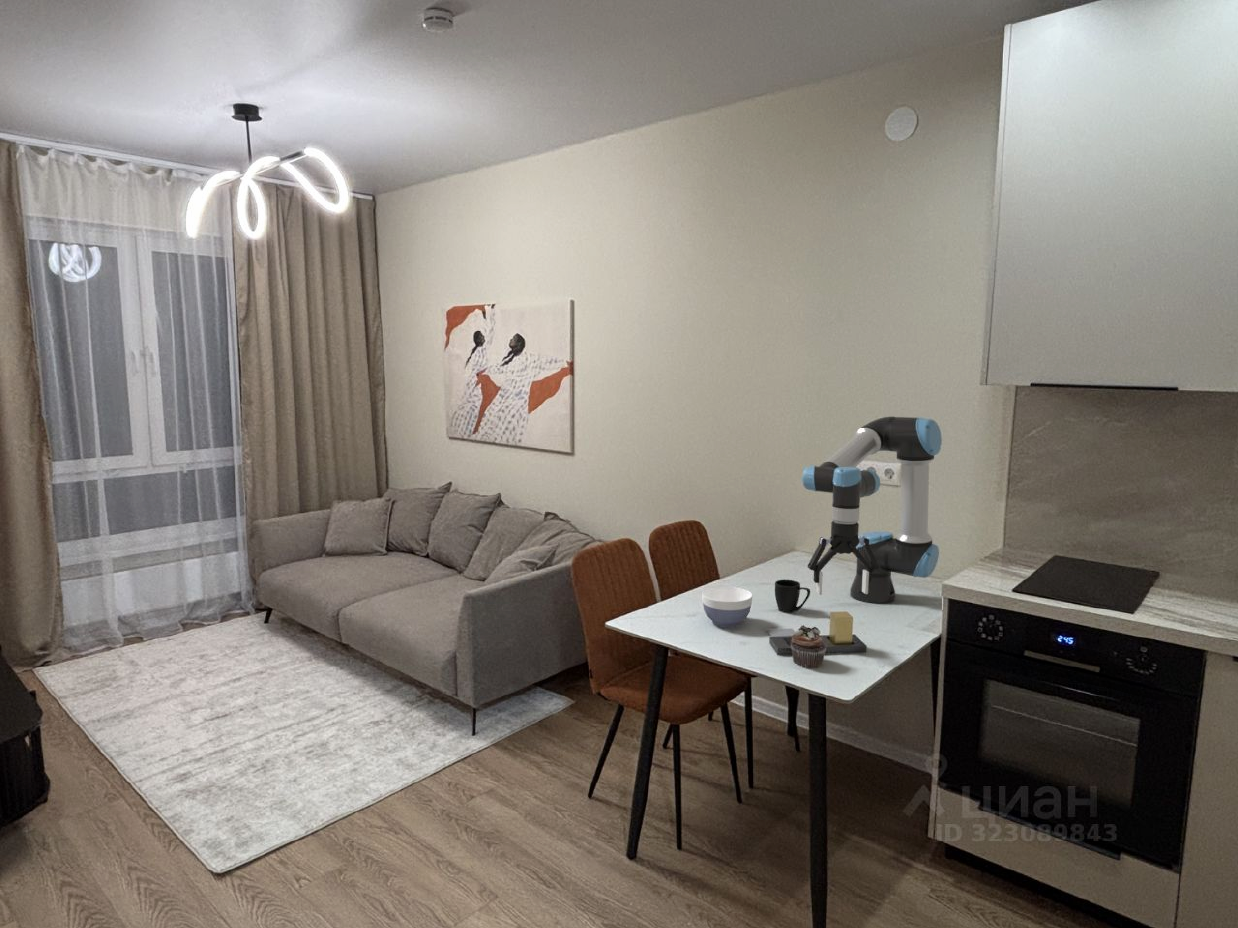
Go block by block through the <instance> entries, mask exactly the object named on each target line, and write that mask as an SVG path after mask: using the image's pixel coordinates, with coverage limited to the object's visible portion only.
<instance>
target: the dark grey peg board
mask: <svg viewBox="0 0 1238 928" xmlns="http://www.w3.org/2000/svg"><path fill="white" fill-rule="evenodd" d="M819 635H820V634H819ZM820 636H821V637H822V638H823V643H824V644H825V646H826V651H825V653H826V654H827V653H830V654H856V653H857V654H858V653H859V654H860V653H862V654H865V653H867V645H866V644H865V642H863V641H862V640H861V639H860V638H859V637H858V636H857V635H856V634H852V645H833V644H832V643H831V642H830V641H829V634H827V635H826V634H825V635H820ZM792 637H793V636H782V637H771V636H769V637H768V638H769V639H768V641H769V642H768V643H769V645H770V647H771V648H772V649H773V651H774V652H775V654H776V655H777V656H788V655H792V649H791V642H792ZM826 654H825V655H826ZM827 655H828V654H827ZM792 656H793V655H792Z"/></svg>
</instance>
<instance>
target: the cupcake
mask: <svg viewBox="0 0 1238 928" xmlns="http://www.w3.org/2000/svg"><path fill="white" fill-rule="evenodd" d="M820 634H821V630H820V629H819V628H818V627H816V626H813V627H807V626H806V625H803V624H802V625H800V628H798V629H797V630H796V631H795V634H794V635H793V637H792V642H791V644H790V646H791V649H792V660H793V663H794V664H795V665H796V664H797V665H796V666H799V667H801V666H802V667H801V668H805V667H806V669H817V668H820V667H822V666H823V663H824V659H825V655H826V654H825V651H826V646H825V644H824V643H823V638H822V637H821V636H820Z"/></svg>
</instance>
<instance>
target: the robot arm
mask: <svg viewBox="0 0 1238 928" xmlns="http://www.w3.org/2000/svg"><path fill="white" fill-rule="evenodd" d="M942 442H943V441H942V432H941V429H940V425H938V423H937V422H936V421H935V420H934V419H931V418H924V417H910V416H909V417H908V416H907V417H906V416H905V417H904V416H884V417H879V418H878V419H875V420H872V421H870V422H868V423H866V424H865V425H863V426H861V427H860V428H859V429H858V430H856V431H855V433H854V435H853V438H852V439H850V440H849V441H848V442H846V443H845V444H844V445H843V446H842V447H840V449H838V450H837V451H836V452H834V453H833V454H832V455H831V456H830V457H828V458H827V459H826V460H825V461H824V462H822V464H820V465H819V466H817V465H809V466H806V468H804V470H803V472H802V477H801V481H802V485H803V488H805V489H806V490H809V491H813V492H822V493H829V494H830V493H831V494H832V504H831V505H832V506H831V520H832V521H831V526H830V527H831V528H830V537H829V538H826V537H823V536H821V537H820V538H819V541H818V545H817V547H816V548H815V551H814V553H813V554H812V556H811V559H810V560H809V562H808V564H807V568H808V569H809V570H810V571H812V572H813V582H814V583H815V584H816V586H815V587H816V588H815V591H816V593H817V594H818V596H821V595H823V578H824V577H823V576H824V575H823V574H824V573H823V568H824V567H826V565H828V564H829V561H831V560H832V559H833V557H835V556H836V555H837V554H839V555H842V554H847V555H848V554H851V553H852V554H853V555H854V556H855V558H856V569H855V570H856V573H855V576H854V578H853V581H852V584H851V585H850V586H851V587H850V590H849V592H850V593H849V595H850V597H852V598H853V599H855V600H857V601H860V602H864V603H870V604H871V603H873V604H888V603H892V602H894V601H895V600H896V590H895V587H894V583H893V580H892V573H895V574H900V575H906V576H911V577H913V578H922V579H923V578H924V579H925V578H928V577H930V576H931V575H932V574H933V572H934V571H935V569H936V567H937V564H938V561H939V557H940V556H939V555H940V549H939V546H938V545H936V544H935V543H933V537H932V535H930V534H929V532H928V531H929V530H928V529H929V486H930V485H929V484H930V483H929V482H930V481H929V479H930V464H931V462H933V461H934V460H935V456H936V455H938V454H939V453H940V452H941V446H942V444H943V443H942ZM884 451H885V452H886V451H887V452H893V453H895V452H896V460H898V462H900V464H901V466H900V468H901V470H900V471H901V473H900V531H899V532H898V533H897V534H896V535H895V538H894V535H893V533H892V532H889V531H869V532H864V533H861V534H860V535H859V526H860V524H859V521H860V506H861V504H860V503H861V502H860V501H861V500H860V499H861V498H866V497H870V496H872V495H874V494H876V493H877V492H878V491H879V490H880V486H881V480H880V479H881V478H880V476H879V475H878V473H876V472H875V471H873V470H872V469H871V470H869V469H860V468H858V467H857V466H859V465H860V464H861V463H862V462H863V461H864V460H866V458H868V457H869V456H870V455H871V456H872V455H875V454H878V452H884ZM829 544H830V547H829V548H828V549H827V552H825V553H824V551H825V549H826V547H827V546H828V545H829ZM823 553H824V555H823ZM822 555H823V556H822Z"/></svg>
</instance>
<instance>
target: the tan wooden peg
mask: <svg viewBox="0 0 1238 928" xmlns="http://www.w3.org/2000/svg"><path fill="white" fill-rule="evenodd" d="M853 625H854V616H852V614H850V613H849V612H848V611H830V613H829V634H828V635H829V641H830V642H831V643H832V644H833V645H852V635H853V631H854V630H853V627H854V626H853Z"/></svg>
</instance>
